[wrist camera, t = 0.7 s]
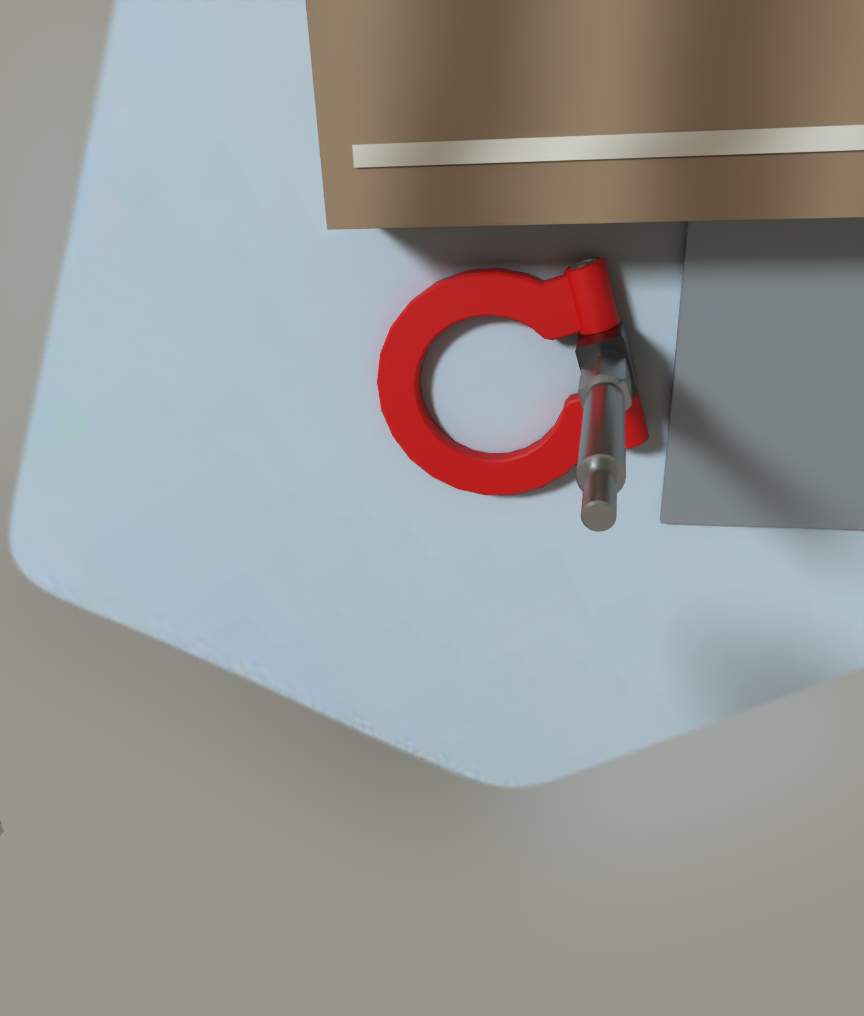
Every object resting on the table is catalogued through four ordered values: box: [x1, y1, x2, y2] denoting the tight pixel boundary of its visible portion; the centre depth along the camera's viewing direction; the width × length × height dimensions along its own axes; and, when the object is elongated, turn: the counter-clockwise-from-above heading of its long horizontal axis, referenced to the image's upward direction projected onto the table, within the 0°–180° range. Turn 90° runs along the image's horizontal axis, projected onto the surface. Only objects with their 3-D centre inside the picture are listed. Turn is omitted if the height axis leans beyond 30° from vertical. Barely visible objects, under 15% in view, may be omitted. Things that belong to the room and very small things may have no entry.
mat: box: [660, 217, 864, 530], centre depth 28 cm, size 12×11×1 cm
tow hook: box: [377, 257, 649, 531], centre depth 25 cm, size 8×13×9 cm
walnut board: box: [306, 0, 864, 229], centre depth 22 cm, size 22×10×4 cm, turn 92°
